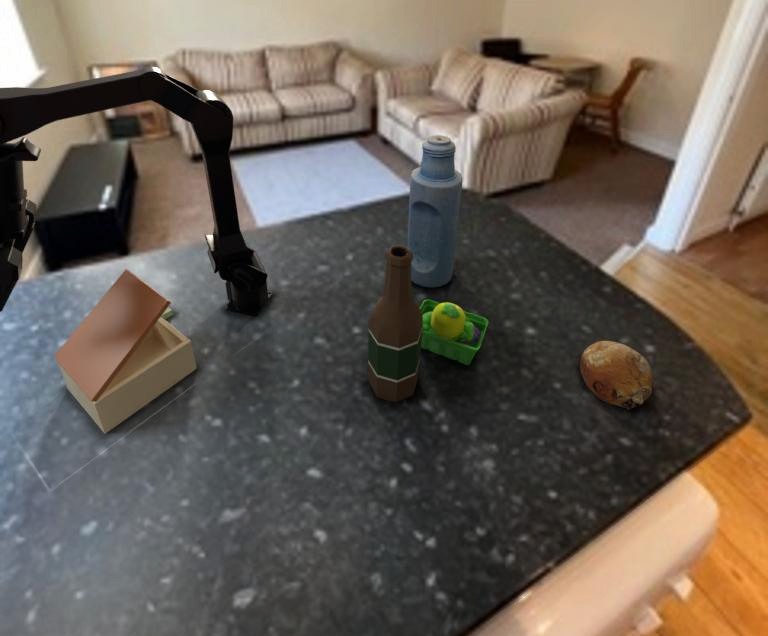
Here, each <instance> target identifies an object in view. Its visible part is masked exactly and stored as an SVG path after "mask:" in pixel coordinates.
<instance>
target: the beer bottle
mask: <svg viewBox="0 0 768 636" xmlns="http://www.w3.org/2000/svg"><path fill="white" fill-rule="evenodd" d="M413 258H414V257H413V253H412V251H411V250H410V249H409V248H408V247H407V246H406V245H405V246H404V245H398V244H397V245H393V246H390V247H389V248H388V249H387V251H386V254H385V256H384V259H385V260H386V267H385V276H384V285H383V292H382V295H381V296H380V297H379V298H378V300H377V303H376V304H375V306H374V308H373V310H372V312H371V315H370V317H369V321H368V334H367V335H368V337H367V339H368V340H367V341H368V343H367V344H368V346H367V378H368V379H367V380H368V383H369V385H370V387H371V388H372V390H373V393H374V394H375V395H376V397H377V398H378V399H381V400H385V401H389V402H391V403H398V402H401V401H403V400H405V399H407V398H410V397H413V395H414V393H415V390H416V386H417V383H418V380H419V375H420V374H419V373H420V366H421V354H422V353H421V352H422V348H421V342H422V330H423V316H422V314H421V311H420V306H419V305H418V304H417V303H416V302H415V300H414V299H413V293H412V281H411V262H412V260H413Z"/></svg>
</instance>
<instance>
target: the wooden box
mask: <svg viewBox="0 0 768 636" xmlns="http://www.w3.org/2000/svg"><path fill="white" fill-rule="evenodd" d="M57 364H58V367H59V369H60V372H61V375H62V378H63V380H64V382H65V385H66V388H67V390H68V391H69V392H70V394H72V396H73V397H74V398H75V399H76V401H77V403H79V404H80V406H81V407H82V408H83V409H84V410H85V412H86V413H87V414H88V415H89V417H90V418H91V419H92V420H93V421H94V423H95V424H96V425H97V426H98V427H99V429H100V430H101V431H102V432H103V433H104V434H105V435H106V434H107V433H108V432H110V431H112V430H113V429H114V428H115V427H117V426H118V425H119V424H121V423H122V422H124V421H125V420H127V419H128V418H129V417H131V416H132V415H134V414H136V413H137V412H138V411H139V410H141V409H142V408H144V407H145V406H146V405H148V404H149V403H150V402H152V401H153V400H155V399H156V398H158V397H159V396H160V395H162V394H163V393H164V392H166V391H167V390H169V389H170V388H172V387H173V386H174V385H176V384H177V383H179V382H180V381H181V380H183V379H184V378H186V377H187V376H189V374H191V373H193V372H194V371H195V370H196V369H198V368H197V363H196V359H195V354H194V349H193V345H192V340H190V339H189V337H187V336H186V335H185V334H183V333H182V332H181V331H179V329H177V328H176V327H175V326H173V325H172V324H171V323H169V322H168V321H167V319H163V318H162V317H160V318H159V320H158V321H157V322H156V323H155V325H154V326H153V327H152V329H151V330H150V331H149V333H148V334H147V335H146V337H145V338H144V339H143V341H142V342H141V343H140V345H139V346H138V347H137V349H136V350H135V351H134V353H133V354H132V355H131V356H130V358H129V359H128V360H127V362H126V363H125V364H124V366H123V367H122V368H121V370H120V371H119V372H118V374H117V375H116V376H115V378H114V379H113V380H112V382H111V383H110V384H109V386H108V387H107V388H106V390H105V391H104V392H103V393H102V395H101V396H100V397H99V399H98V400H97V401H96V402H93V401H91V400H90V399H89V398H88V397H87V396H86V394H85V393H84V392H83V391H82V390H81V389H80V387H79V386H78V385H77V384H76V383H75V382H74V380H73V379H72V378H71V377H70V376H69V375H68V373H67V372H66V371H65V370H64V369H63V367H62V366H61V365H60V364H59V363H58V362H57Z"/></svg>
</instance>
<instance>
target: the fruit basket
mask: <svg viewBox="0 0 768 636" xmlns="http://www.w3.org/2000/svg"><path fill="white" fill-rule="evenodd" d="M419 308H420V311H421V314H422V316H423V330H422V342H421V349H423V350H428V351H430V352H431V353H433V354H437V355H441V356H443V357H445V358H447V359H450V360H453V361H457V362H458V363H460V364H463V365H466V366H469V365H470V364H471V363H472V361H473V359H474V357H475V355H476V353H477V352H479V350H480V348H481V346H482V342H483V339H484V336H485V334H486V331H487V328H488V325H489V320H488V319H487V318H486V317H484V316H481V315H478V314H475V313H471V312H469V311H465V310H463V309H462V308H461V307H460V306H459V305H458V304H455V303H452V302H447V301H446V302H437V301H435V300H432V299H424V300H423V302H422V303H421V305H420V306H419Z"/></svg>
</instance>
